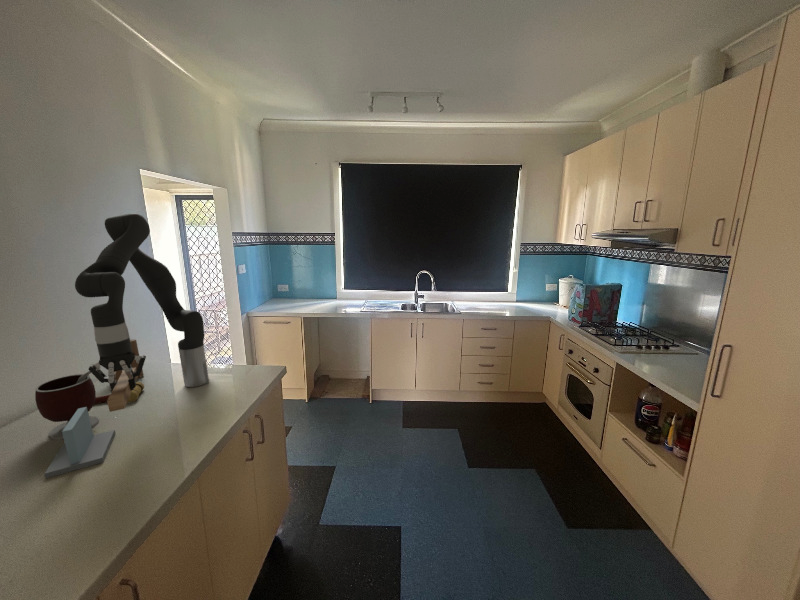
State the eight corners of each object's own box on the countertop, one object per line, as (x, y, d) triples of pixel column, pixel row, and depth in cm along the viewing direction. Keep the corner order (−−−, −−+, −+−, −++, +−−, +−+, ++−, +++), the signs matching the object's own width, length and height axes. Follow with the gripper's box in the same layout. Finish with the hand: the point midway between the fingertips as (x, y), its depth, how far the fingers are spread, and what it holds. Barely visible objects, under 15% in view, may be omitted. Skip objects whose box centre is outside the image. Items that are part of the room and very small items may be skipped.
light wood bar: (125, 378, 110) (123, 369, 109) (137, 376, 111) (135, 367, 111) (109, 412, 90) (106, 400, 89) (124, 408, 91) (121, 397, 91)
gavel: (66, 406, 119) (78, 394, 128) (70, 417, 120) (82, 404, 129) (135, 390, 128) (142, 380, 137) (138, 401, 129) (145, 390, 138)
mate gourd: (38, 446, 102) (22, 388, 97) (53, 424, 113) (39, 372, 109) (103, 429, 110) (91, 375, 106) (111, 411, 121) (100, 361, 117)
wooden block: (113, 380, 146) (105, 343, 143) (143, 374, 153) (136, 338, 149) (113, 383, 144) (104, 345, 140) (143, 377, 150) (136, 340, 146)
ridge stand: (115, 433, 108) (108, 401, 105) (103, 462, 94) (94, 425, 92) (66, 446, 101) (57, 411, 99) (45, 478, 88) (34, 439, 86)
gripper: (144, 331, 103) (154, 380, 107) (85, 339, 96) (97, 392, 100) (140, 337, 97) (151, 389, 101) (77, 346, 90) (91, 402, 94)
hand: (124, 390), depth 100 cm, fingers closed on light wood bar, 3 cm apart
